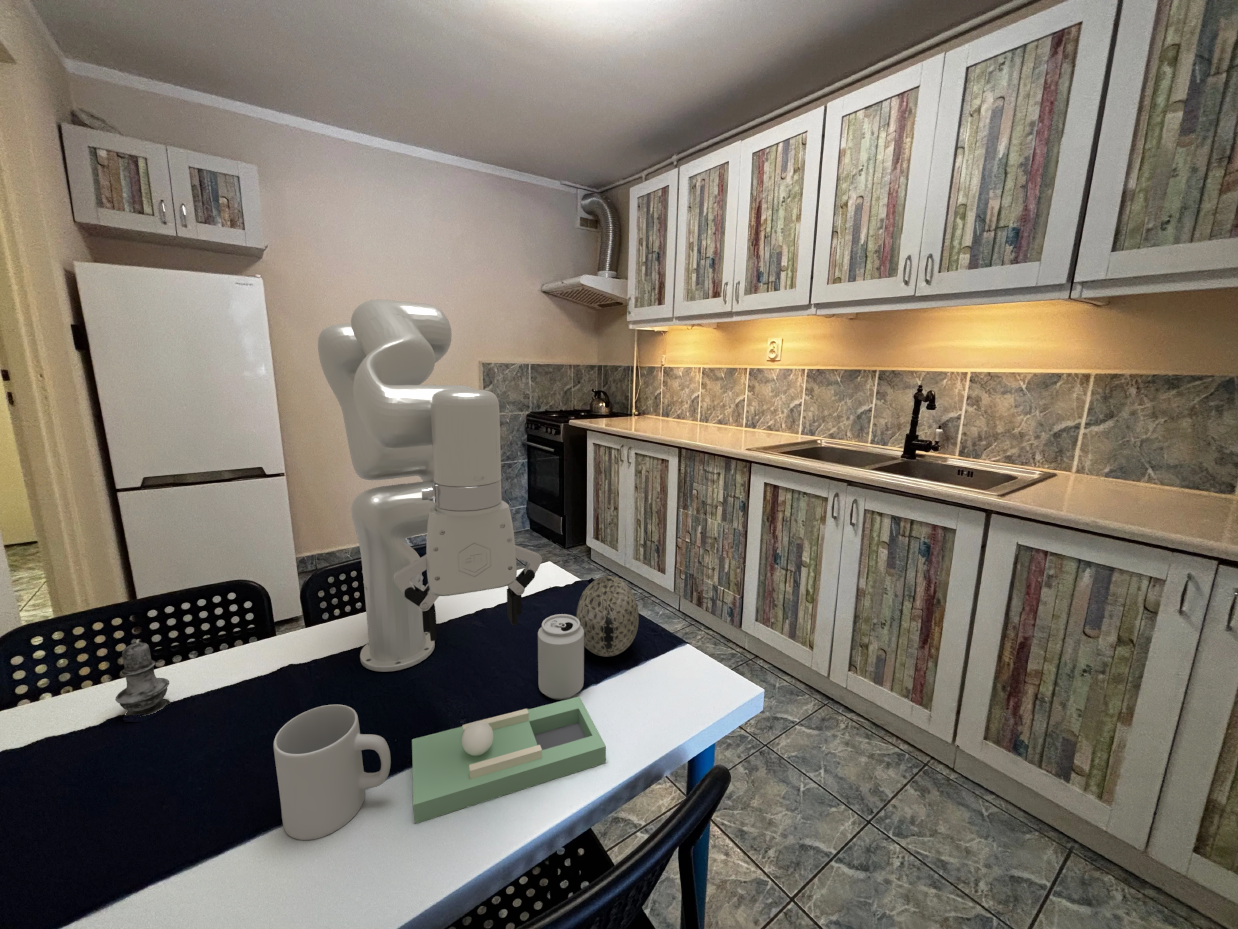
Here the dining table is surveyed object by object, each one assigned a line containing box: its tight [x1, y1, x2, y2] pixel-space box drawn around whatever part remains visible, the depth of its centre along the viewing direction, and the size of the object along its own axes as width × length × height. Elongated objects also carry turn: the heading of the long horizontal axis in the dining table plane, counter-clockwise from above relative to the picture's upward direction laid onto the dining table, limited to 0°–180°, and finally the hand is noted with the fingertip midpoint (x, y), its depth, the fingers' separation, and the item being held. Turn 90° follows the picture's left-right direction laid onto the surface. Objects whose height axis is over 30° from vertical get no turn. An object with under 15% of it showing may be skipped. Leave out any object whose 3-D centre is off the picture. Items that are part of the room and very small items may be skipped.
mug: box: [273, 704, 392, 841], centre depth 58 cm, size 12×8×11 cm
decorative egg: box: [575, 575, 640, 658], centre depth 91 cm, size 12×12×15 cm
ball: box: [462, 720, 493, 756], centre depth 64 cm, size 4×4×4 cm
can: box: [537, 613, 585, 701], centre depth 81 cm, size 8×8×12 cm
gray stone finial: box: [115, 638, 171, 717], centre depth 73 cm, size 6×6×12 cm
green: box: [411, 696, 607, 825], centre depth 66 cm, size 11×24×4 cm, turn 113°
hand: (474, 627), depth 61 cm, fingers open, 9 cm apart
